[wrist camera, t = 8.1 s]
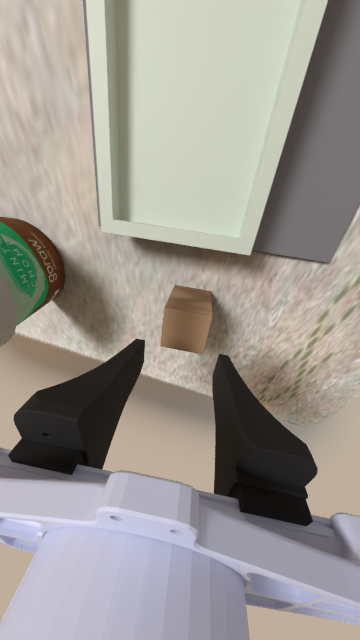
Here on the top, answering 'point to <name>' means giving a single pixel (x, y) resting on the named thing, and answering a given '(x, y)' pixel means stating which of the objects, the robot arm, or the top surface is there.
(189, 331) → the walnut block
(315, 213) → the mat
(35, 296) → the food container
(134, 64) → the pale green tray
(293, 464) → the robot arm
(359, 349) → the top surface
